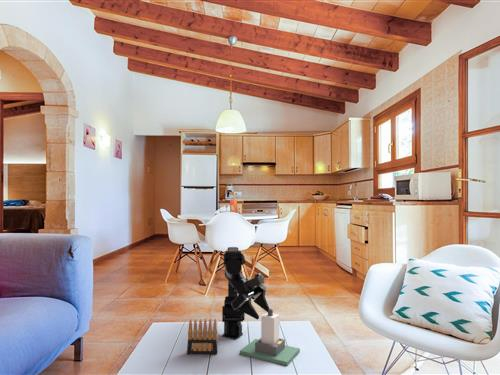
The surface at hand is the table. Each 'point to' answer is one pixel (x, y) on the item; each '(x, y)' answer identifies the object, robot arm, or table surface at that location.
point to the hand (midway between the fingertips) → (264, 314)
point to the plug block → (270, 328)
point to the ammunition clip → (202, 339)
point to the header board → (271, 351)
